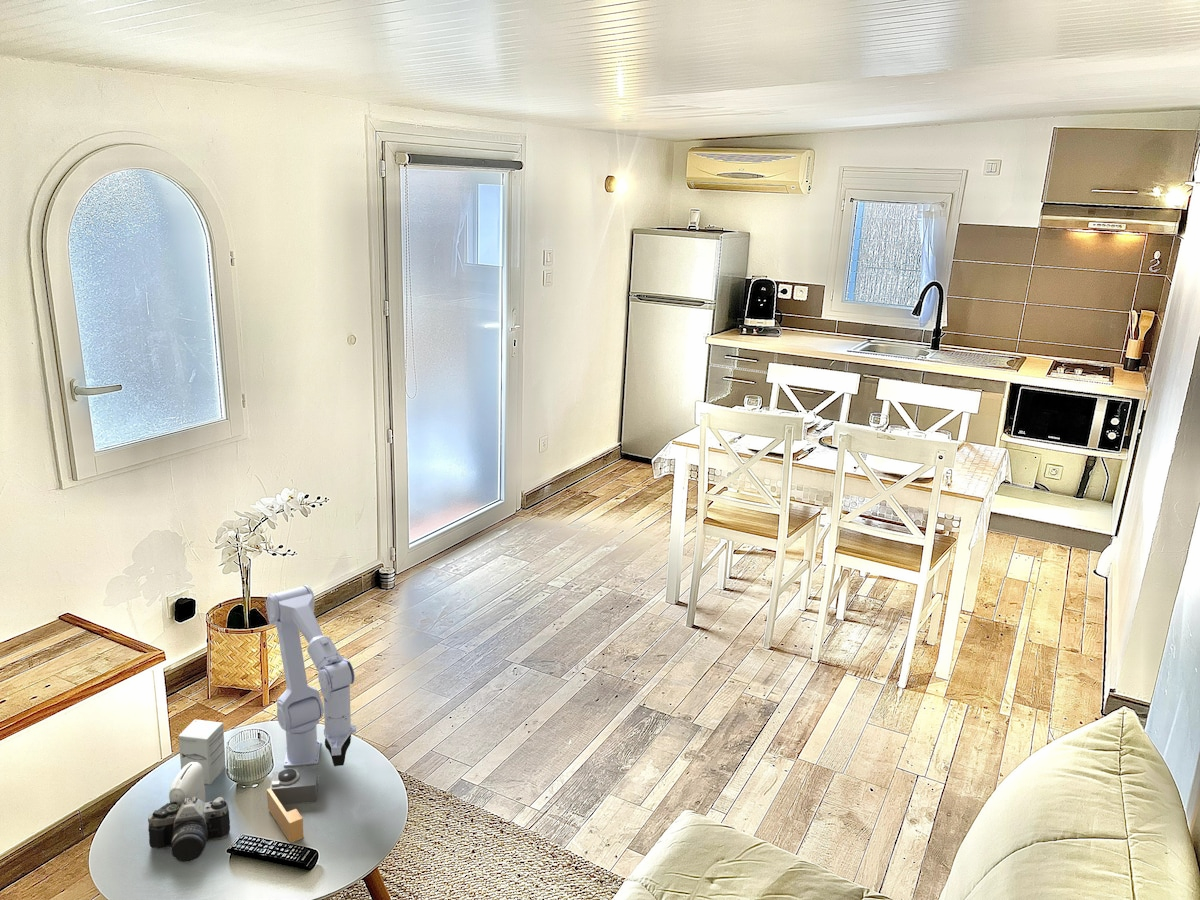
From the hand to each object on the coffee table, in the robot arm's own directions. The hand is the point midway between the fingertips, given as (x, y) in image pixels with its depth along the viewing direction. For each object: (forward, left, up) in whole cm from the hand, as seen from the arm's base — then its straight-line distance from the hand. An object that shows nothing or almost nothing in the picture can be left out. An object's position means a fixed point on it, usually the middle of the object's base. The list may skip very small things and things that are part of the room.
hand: (339, 764), depth 202 cm
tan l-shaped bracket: (+7, -11, -9) cm, 16 cm away
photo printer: (+2, -32, -10) cm, 33 cm away
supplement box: (-14, -32, -10) cm, 36 cm away
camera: (+12, -30, -10) cm, 34 cm away
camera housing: (-3, -10, -9) cm, 14 cm away
